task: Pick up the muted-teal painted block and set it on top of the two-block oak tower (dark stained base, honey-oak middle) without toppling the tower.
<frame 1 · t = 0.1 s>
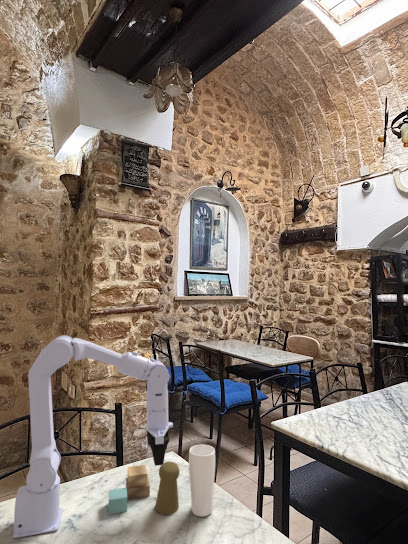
hand: (158, 460, 89), 11 cm above the table, fingers open, 4 cm apart
teal block: (117, 507, 86), on the table
tower mid: (137, 481, 93), point 3 cm above the table, touching tower base
drinking glass: (201, 511, 85), on the table
olive rounded piece: (167, 506, 86), on the table, touching gripper
tower base: (137, 493, 93), on the table, touching tower mid
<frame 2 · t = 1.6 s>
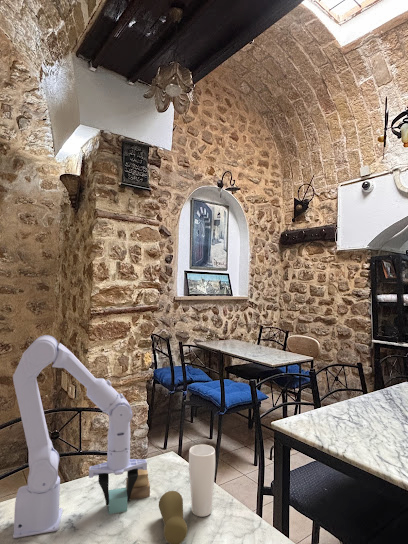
hand: (117, 501, 86), 1 cm above the table, fingers closed on teal block, 5 cm apart
teal block: (117, 507, 86), on the table, touching gripper
tower mid: (137, 481, 93), point 3 cm above the table
olive rounded piece: (170, 502, 83), point 3 cm above the table
tower base: (137, 493, 93), on the table
everything else where it was.
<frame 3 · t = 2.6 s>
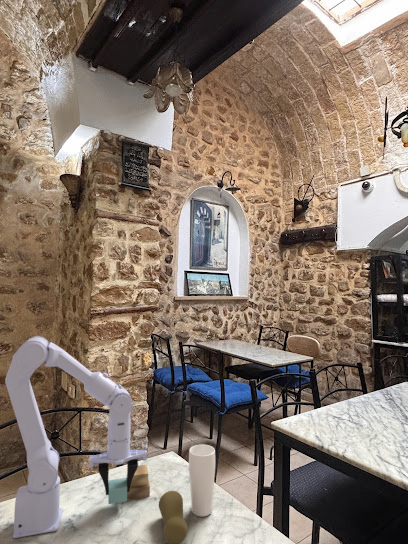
hand: (117, 491, 86), 4 cm above the table, fingers closed on teal block, 4 cm apart
teal block: (117, 497, 86), point 2 cm above the table, touching gripper
tower mid: (138, 481, 93), point 3 cm above the table, touching tower base
tower base: (137, 493, 93), on the table, touching tower mid
everything else where it was.
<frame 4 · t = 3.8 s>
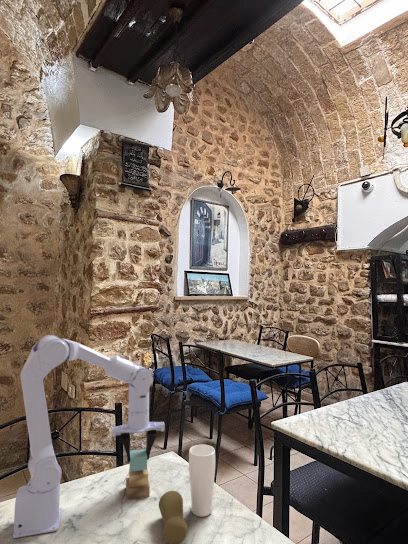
hand: (138, 459, 94), 9 cm above the table, fingers closed on teal block, 4 cm apart
teal block: (138, 466, 93), point 7 cm above the table, touching gripper
tower mid: (138, 481, 93), point 3 cm above the table
tower base: (137, 493, 93), on the table
everything else where it was.
when the fingers open (8 cm above the table, at t = 4.3 s): teal block stays where it is, resting on tower mid.
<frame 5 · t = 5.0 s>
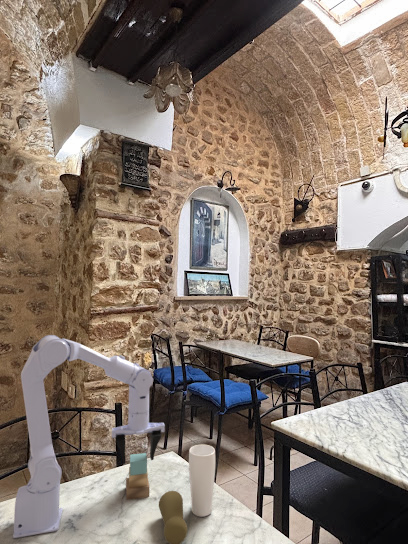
hand: (138, 460, 94), 8 cm above the table, fingers open, 7 cm apart
teal block: (138, 470, 94), point 6 cm above the table, touching tower mid
tower mid: (138, 481, 93), point 3 cm above the table, touching teal block, tower base
tower base: (137, 493, 93), on the table, touching tower mid
everything else where it was.
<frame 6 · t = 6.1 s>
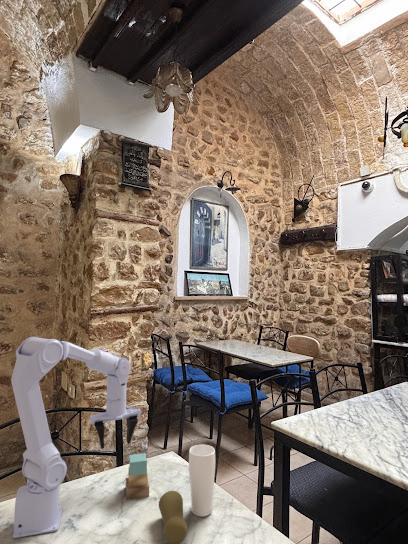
hand: (115, 444, 99), 10 cm above the table, fingers open, 7 cm apart
nothing on the table moved.
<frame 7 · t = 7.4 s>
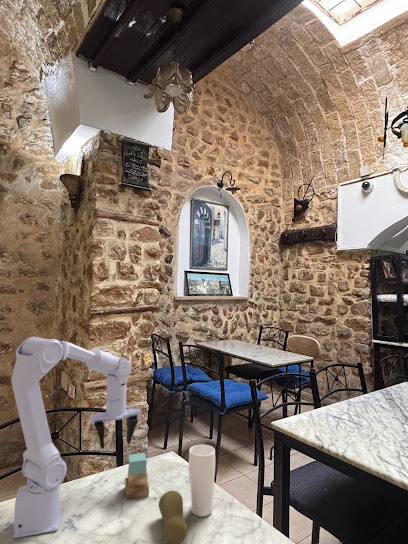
hand: (115, 444, 99), 10 cm above the table, fingers open, 7 cm apart
nothing on the table moved.
at the end: teal block 0.3 cm off-centre on the tower base, point 6.0 cm above the tower base's base; tower mid tilted 0°; tower mid moved 0.5 cm from its start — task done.
